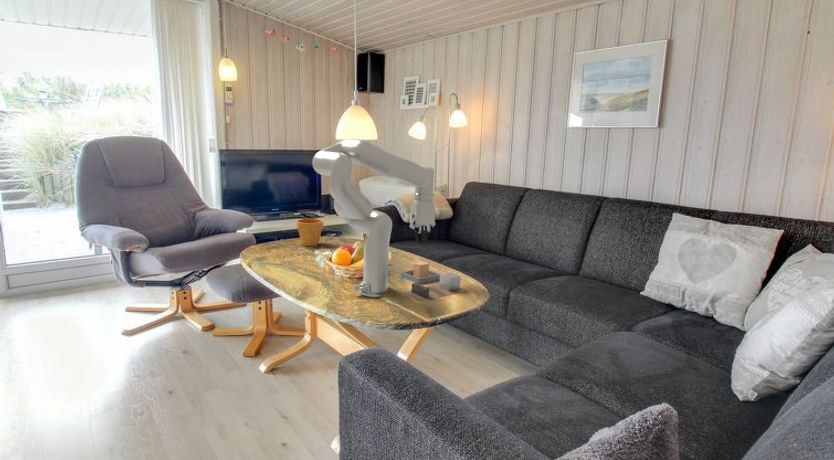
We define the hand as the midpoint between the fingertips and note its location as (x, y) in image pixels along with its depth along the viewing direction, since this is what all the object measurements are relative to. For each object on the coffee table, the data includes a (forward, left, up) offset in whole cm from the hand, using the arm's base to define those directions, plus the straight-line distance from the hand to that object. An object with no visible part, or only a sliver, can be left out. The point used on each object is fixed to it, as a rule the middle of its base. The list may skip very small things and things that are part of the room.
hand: (422, 241), depth 200 cm
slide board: (-6, -17, -17) cm, 25 cm away
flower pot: (-9, +84, -17) cm, 86 cm away
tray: (0, 0, -17) cm, 17 cm away
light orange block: (0, 0, -16) cm, 16 cm away
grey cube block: (+1, -17, -15) cm, 23 cm away
